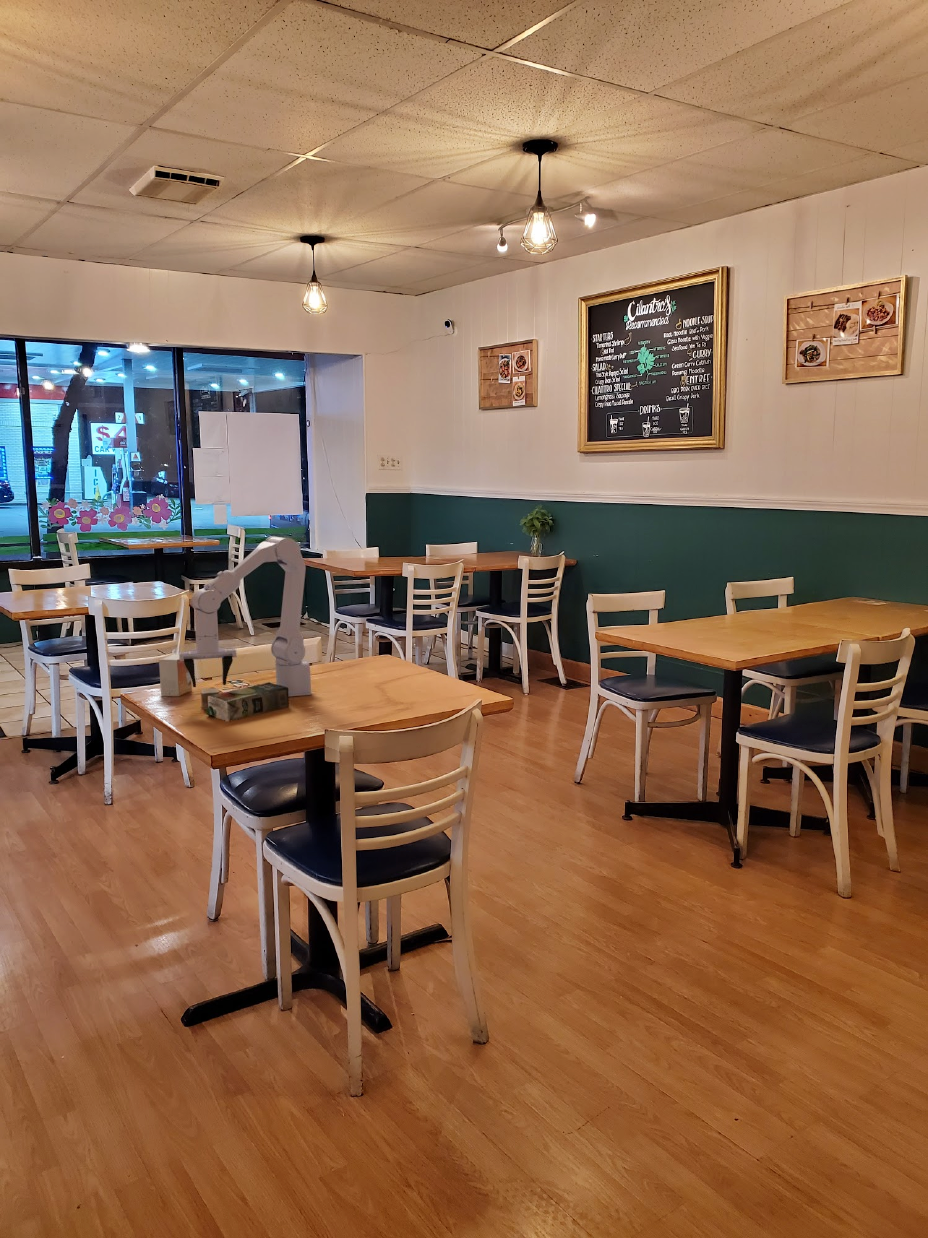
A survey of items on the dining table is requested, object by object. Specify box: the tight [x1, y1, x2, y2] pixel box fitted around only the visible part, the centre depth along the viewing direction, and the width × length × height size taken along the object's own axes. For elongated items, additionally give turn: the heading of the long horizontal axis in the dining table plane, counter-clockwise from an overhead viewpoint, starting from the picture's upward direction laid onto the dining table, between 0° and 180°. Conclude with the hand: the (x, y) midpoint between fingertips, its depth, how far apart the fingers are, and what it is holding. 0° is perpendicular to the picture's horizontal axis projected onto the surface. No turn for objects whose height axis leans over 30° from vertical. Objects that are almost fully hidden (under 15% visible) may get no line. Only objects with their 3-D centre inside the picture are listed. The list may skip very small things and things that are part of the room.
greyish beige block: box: [200, 687, 220, 710], centre depth 248 cm, size 4×4×4 cm
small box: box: [158, 653, 193, 697], centre depth 263 cm, size 8×6×10 cm
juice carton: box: [205, 681, 290, 722], centre depth 244 cm, size 20×10×6 cm, turn 137°
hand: (209, 685), depth 248 cm, fingers open, 7 cm apart
